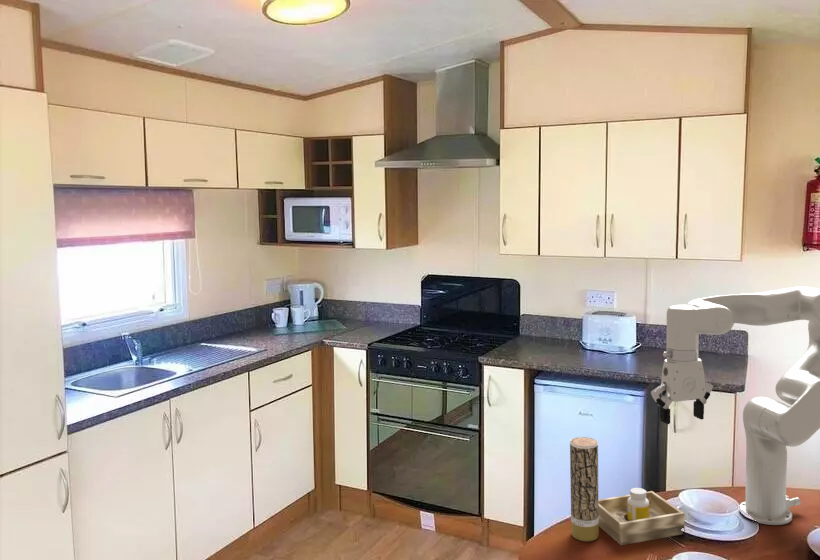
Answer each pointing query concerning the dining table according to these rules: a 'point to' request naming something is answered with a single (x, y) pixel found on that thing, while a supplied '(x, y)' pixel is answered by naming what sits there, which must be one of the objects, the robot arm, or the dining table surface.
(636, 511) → the supplement bottle
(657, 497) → the pine box
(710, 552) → the dining table surface
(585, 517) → the brown bark cylinder
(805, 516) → the dining table surface
